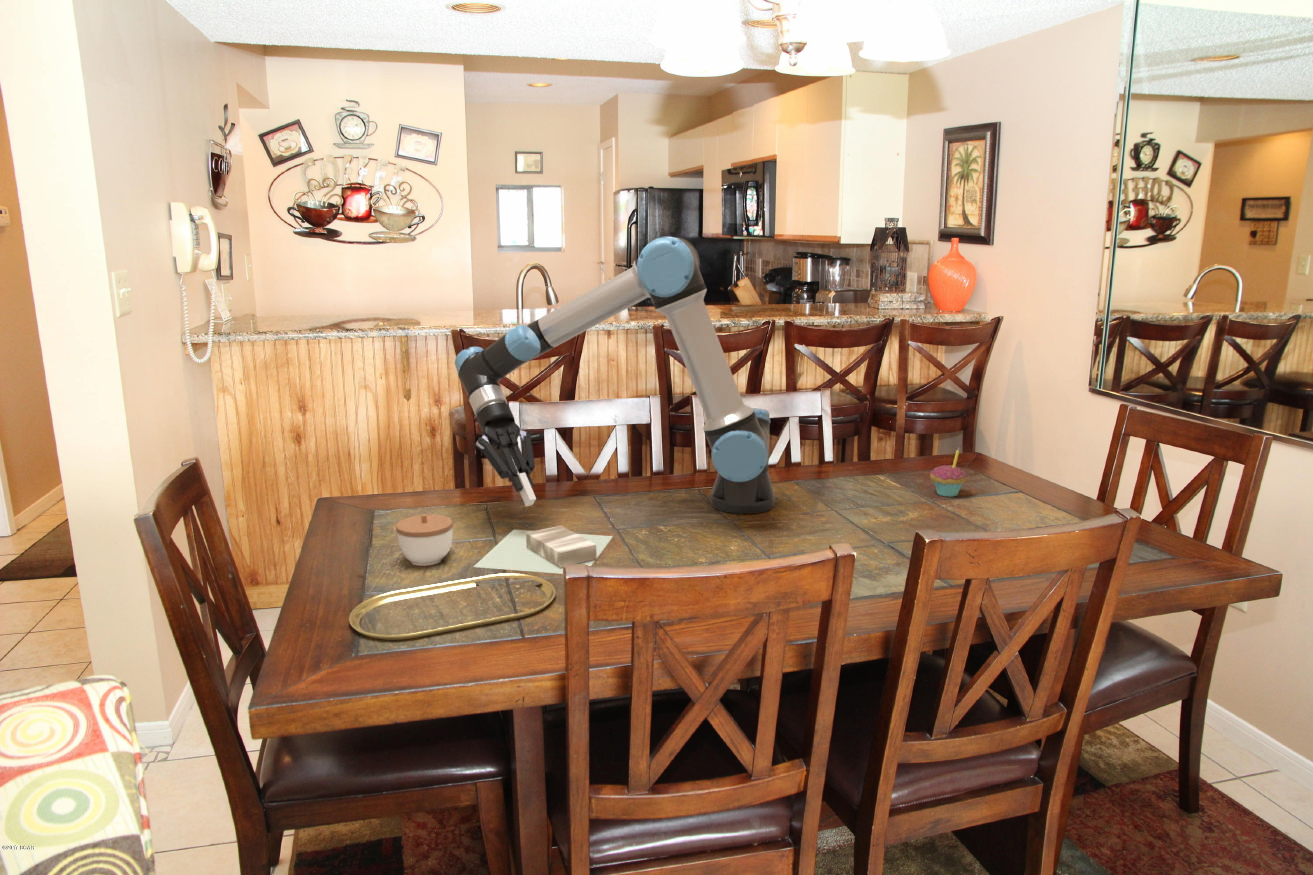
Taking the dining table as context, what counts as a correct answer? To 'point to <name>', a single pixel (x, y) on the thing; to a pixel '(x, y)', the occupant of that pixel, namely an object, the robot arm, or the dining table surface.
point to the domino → (561, 546)
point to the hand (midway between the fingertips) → (531, 502)
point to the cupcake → (948, 478)
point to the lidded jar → (425, 538)
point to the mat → (529, 554)
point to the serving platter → (440, 588)
